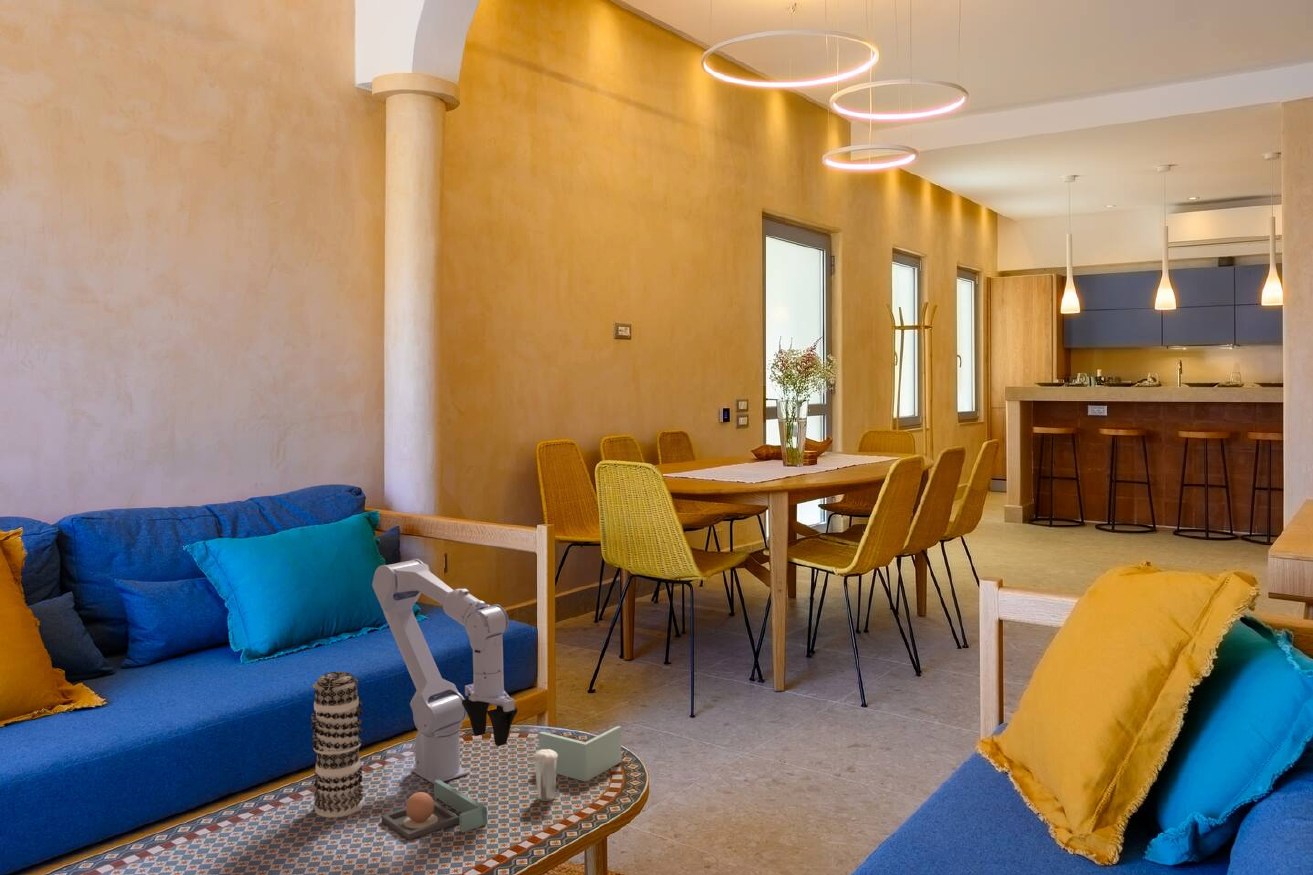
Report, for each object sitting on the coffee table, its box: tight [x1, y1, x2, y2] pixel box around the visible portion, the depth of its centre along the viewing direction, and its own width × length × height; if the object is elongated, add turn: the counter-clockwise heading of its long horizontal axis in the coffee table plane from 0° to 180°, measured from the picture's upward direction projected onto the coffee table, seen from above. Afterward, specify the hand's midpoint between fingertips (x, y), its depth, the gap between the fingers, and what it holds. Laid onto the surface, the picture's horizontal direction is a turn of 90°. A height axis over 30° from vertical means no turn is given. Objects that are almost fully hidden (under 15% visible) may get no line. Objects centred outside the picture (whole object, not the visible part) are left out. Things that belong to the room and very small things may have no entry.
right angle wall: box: [538, 725, 622, 783], centre depth 203 cm, size 12×12×8 cm
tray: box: [381, 800, 460, 842], centre depth 177 cm, size 10×10×1 cm
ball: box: [405, 791, 435, 822], centre depth 177 cm, size 5×5×5 cm
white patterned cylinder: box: [310, 671, 364, 819], centre depth 183 cm, size 9×9×25 cm
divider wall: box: [433, 779, 488, 834], centre depth 181 cm, size 17×5×3 cm, turn 42°
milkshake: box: [533, 747, 562, 802], centre depth 187 cm, size 4×5×10 cm
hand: (490, 739), depth 191 cm, fingers open, 7 cm apart
